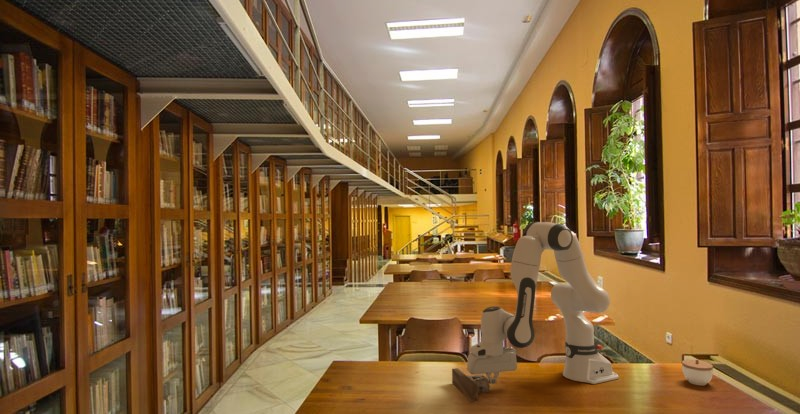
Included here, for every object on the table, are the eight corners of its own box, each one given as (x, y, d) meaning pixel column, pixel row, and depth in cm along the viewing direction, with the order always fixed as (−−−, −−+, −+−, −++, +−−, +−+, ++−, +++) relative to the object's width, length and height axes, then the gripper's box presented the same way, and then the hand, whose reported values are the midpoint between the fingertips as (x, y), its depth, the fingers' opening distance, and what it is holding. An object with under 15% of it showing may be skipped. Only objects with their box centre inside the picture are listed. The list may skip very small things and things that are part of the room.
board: (458, 382, 192) (457, 368, 192) (477, 401, 173) (477, 385, 173) (452, 383, 191) (452, 368, 191) (471, 402, 172) (471, 386, 172)
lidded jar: (686, 376, 197) (685, 354, 197) (716, 382, 189) (715, 359, 190) (678, 382, 190) (678, 359, 190) (709, 389, 182) (709, 365, 182)
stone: (463, 374, 193) (487, 372, 192) (465, 389, 192) (489, 387, 191) (462, 379, 180) (489, 377, 179) (464, 395, 179) (490, 393, 178)
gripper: (512, 344, 191) (512, 378, 191) (465, 347, 186) (465, 382, 186) (519, 348, 185) (520, 383, 184) (471, 352, 180) (471, 388, 180)
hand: (492, 383), depth 185 cm, fingers closed
